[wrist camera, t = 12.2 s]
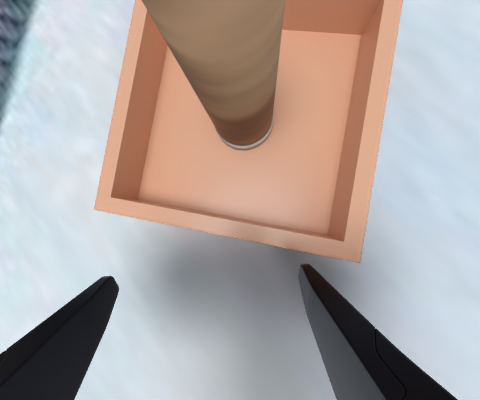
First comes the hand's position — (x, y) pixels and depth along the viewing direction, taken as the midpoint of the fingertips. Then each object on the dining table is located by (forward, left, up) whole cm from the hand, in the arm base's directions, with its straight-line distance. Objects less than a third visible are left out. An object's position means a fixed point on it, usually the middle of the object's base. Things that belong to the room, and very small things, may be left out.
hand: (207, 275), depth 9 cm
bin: (+1, -11, -9) cm, 14 cm away
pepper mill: (+1, -11, -8) cm, 14 cm away
